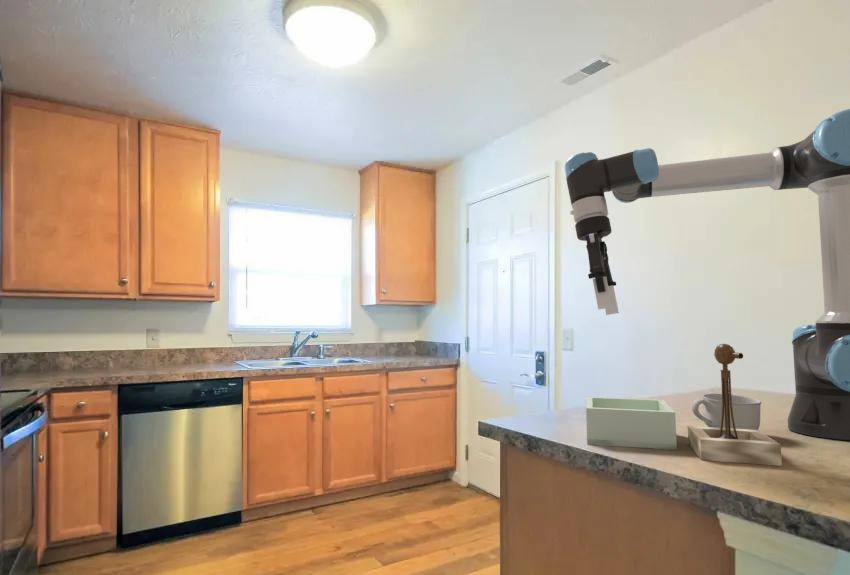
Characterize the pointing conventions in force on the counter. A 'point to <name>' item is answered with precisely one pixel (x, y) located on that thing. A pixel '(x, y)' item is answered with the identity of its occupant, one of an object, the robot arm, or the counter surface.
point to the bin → (630, 423)
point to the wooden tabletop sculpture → (726, 387)
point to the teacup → (743, 411)
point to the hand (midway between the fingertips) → (609, 311)
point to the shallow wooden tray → (734, 446)
